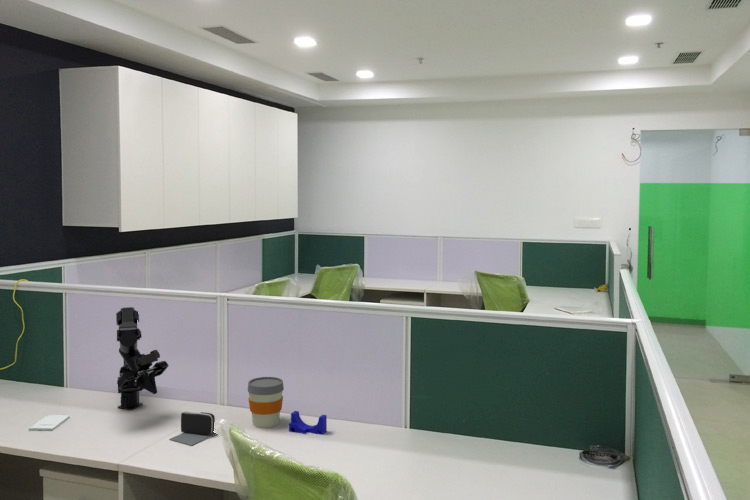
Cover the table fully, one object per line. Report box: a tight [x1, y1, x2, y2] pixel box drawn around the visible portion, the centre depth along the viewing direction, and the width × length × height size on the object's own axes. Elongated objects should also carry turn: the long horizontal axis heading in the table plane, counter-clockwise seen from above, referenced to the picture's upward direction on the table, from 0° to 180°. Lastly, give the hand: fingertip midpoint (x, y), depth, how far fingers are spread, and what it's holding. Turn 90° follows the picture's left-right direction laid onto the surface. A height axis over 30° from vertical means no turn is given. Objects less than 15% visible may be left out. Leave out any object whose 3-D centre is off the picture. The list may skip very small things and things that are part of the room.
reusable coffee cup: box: [247, 376, 284, 429], centre depth 233 cm, size 13×13×15 cm
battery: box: [180, 411, 216, 435], centre depth 223 cm, size 7×4×11 cm
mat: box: [168, 432, 217, 447], centre depth 221 cm, size 10×14×1 cm
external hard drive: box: [28, 414, 71, 432], centre depth 231 cm, size 2×8×12 cm
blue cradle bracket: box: [288, 410, 328, 436], centre depth 226 cm, size 12×4×6 cm, turn 70°
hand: (155, 393), depth 229 cm, fingers closed
